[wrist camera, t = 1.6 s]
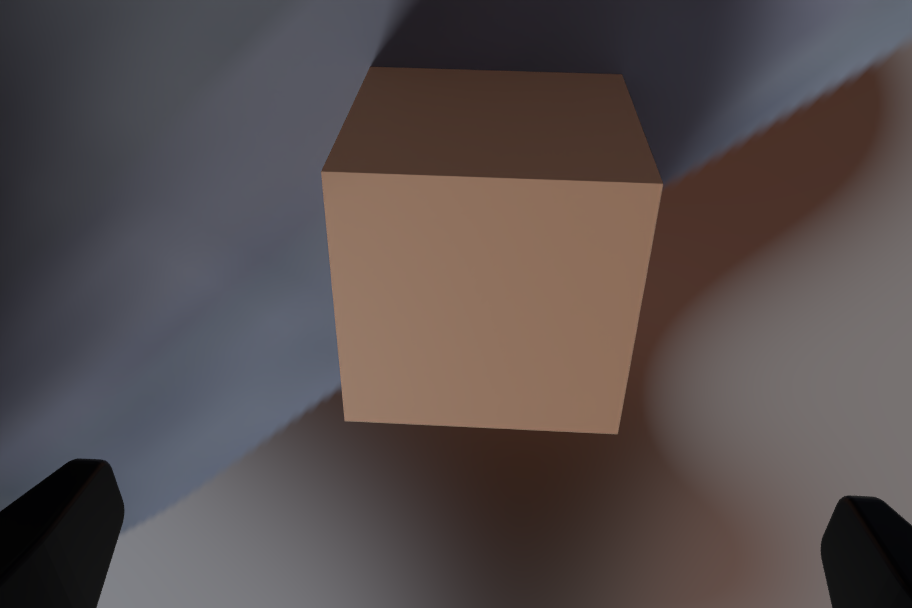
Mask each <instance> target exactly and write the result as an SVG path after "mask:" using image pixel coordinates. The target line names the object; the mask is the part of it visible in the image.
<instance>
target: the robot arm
mask: <svg viewBox="0 0 912 608" xmlns="http://www.w3.org/2000/svg"><path fill="white" fill-rule="evenodd" d="M123 519H124V503H123V499H122V496H121V494H120V491H119V488H118V485H117V482H116V479H115V476H114V473H113V470H112V468H111V466H110V464H109V463H108V462H107V461H105V460H100V459H74V460H71V461H69V462H68V463H66V464H65V465H63V466H62V467H60V468H59V469H58V470H56V471H55V472H54V473H52V474H51V475H50V476H48V477H47V478H45V479H44V480H43V481H41V482H40V483H39V484H37V485H36V486H35V487H33V488H32V489H30V490H29V491H28V492H26V493H25V494H24V495H22V496H21V497H19V498H18V499H17V500H15V501H14V502H13V503H11V504H10V505H9V506H7V507H6V508H4V509H3V510H2V511H0V608H96V607H97V604H98V601H99V598H100V594H101V591H102V588H103V585H104V582H105V578H106V575H107V572H108V568H109V565H110V562H111V559H112V555H113V553H114V549H115V546H116V543H117V540H118V536H119V533H120V530H121V527H122V523H123ZM821 558H822V563H823V568H824V572H825V576H826V581H827V586H828V590H829V595H830V599H831V604H832V608H912V525H911V524H910V523H908V522H907V521H906V520H905V519H904V518H903V517H901V516H900V515H899V514H898V513H897V512H896V511H894V510H893V509H892V508H891V507H890V506H889V505H888V504H886V503H885V502H884V501H882V500H881V499H879V498H876V497H867V496H844V497H842V498H841V499H840V500H839V502H838V503H837V505H836V507H835V510H834V512H833V514H832V517H831V519H830V521H829V523H828V526H827V528H826V530H825V533H824V535H823V538H822V541H821Z"/></svg>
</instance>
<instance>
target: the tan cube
mask: <svg viewBox="0 0 912 608" xmlns="http://www.w3.org/2000/svg"><path fill="white" fill-rule="evenodd" d="M321 174H322V185H323V196H324V206H325V217H326V227H327V238H328V249H329V259H330V270H331V280H332V291H333V301H334V312H335V323H336V333H337V344H338V354H339V365H340V375H341V386H342V397H343V406H344V418H345V421H356V422H357V421H358V422H376V423H377V422H378V423H397V424H418V425H439V426H459V427H480V428H501V429H521V430H522V429H523V430H543V431H563V432H584V433H605V434H618V429H619V423H620V418H621V412H622V407H623V401H624V396H625V391H626V385H627V379H628V374H629V369H630V363H631V357H632V352H633V346H634V341H635V336H636V330H637V325H638V319H639V314H640V308H641V302H642V297H643V292H644V286H645V281H646V276H647V270H648V265H649V259H650V253H651V247H652V243H653V237H654V231H655V226H656V221H657V215H658V210H659V204H660V198H661V193H662V188H663V182H662V179H661V177H660V174H659V171H658V169H657V166H656V163H655V161H654V158H653V155H652V153H651V150H650V147H649V145H648V142H647V139H646V137H645V134H644V132H643V129H642V126H641V124H640V121H639V118H638V116H637V113H636V110H635V108H634V105H633V102H632V100H631V97H630V94H629V92H628V89H627V86H626V84H625V81H624V78H623V76H622V74H594V73H561V72H528V71H494V70H461V69H428V68H395V67H370V68H369V71H368V73H367V75H366V77H365V79H364V81H363V83H362V86H361V88H360V90H359V92H358V94H357V96H356V98H355V100H354V103H353V105H352V107H351V109H350V111H349V113H348V115H347V118H346V120H345V122H344V124H343V126H342V128H341V130H340V133H339V135H338V137H337V139H336V141H335V143H334V145H333V147H332V150H331V152H330V154H329V156H328V158H327V160H326V162H325V165H324V167H323V169H322V171H321Z"/></svg>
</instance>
